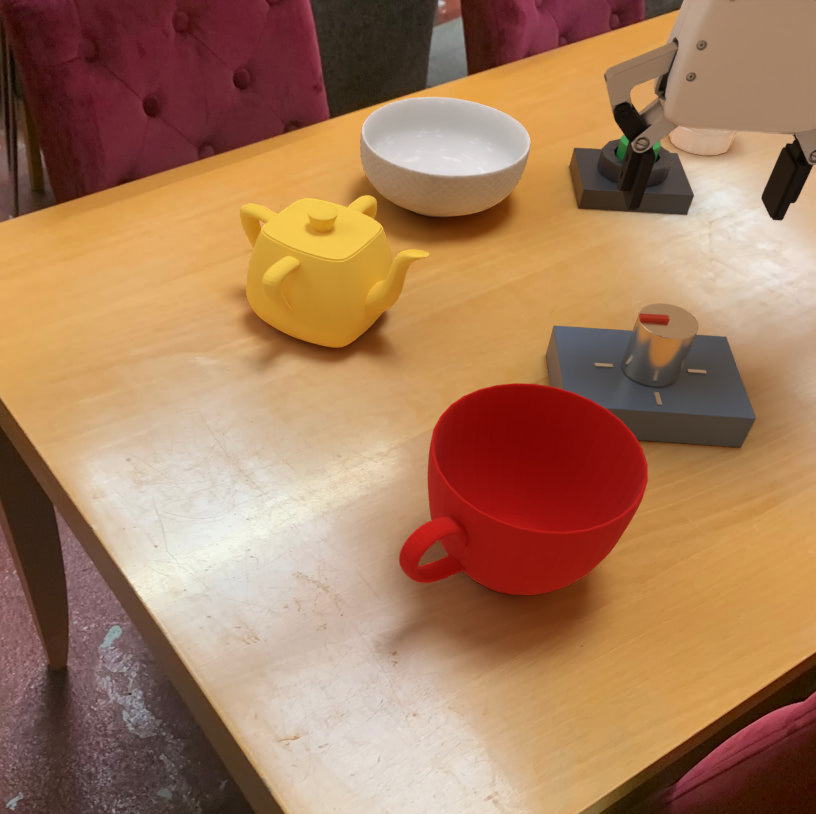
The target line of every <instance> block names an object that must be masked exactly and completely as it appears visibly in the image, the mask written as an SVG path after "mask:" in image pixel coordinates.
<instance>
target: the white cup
mask: <svg viewBox="0 0 816 814" xmlns="http://www.w3.org/2000/svg"><path fill="white" fill-rule="evenodd" d="M737 133H738V132H737V131H723V130H709V129H696V128H687V127H681V126H678V127H677V128H675V129H674V130H673V131H672V132H670V133H669V134H668V136H669V140H670V143H671V144H672V145H673V146H675V147H676V148H677V149H678V150H681V151H684V152H686V153H689V154H693V155H698V156H719V155H722V154H724V153H727V152H728V151H729V149H730V148H731V147H732V145H733V143H734V140H735V137H736V135H737Z"/></svg>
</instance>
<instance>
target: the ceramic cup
mask: <svg viewBox="0 0 816 814" xmlns="http://www.w3.org/2000/svg"><path fill="white" fill-rule="evenodd" d="M433 427H434V428H433V430H432V434H431V438H430V439H431V440H430V443H429V450H428V458H427V459H428V460H427V494H428V504H429V505H428V506H429V515H430V518H431V520H429V521H427V522H424V524H422V525H420V526H419V527H417V528H416V529H415V530H414V531H413V532H412V533H411V534H410V535H409V536H408V538H407V539H406V540H405V542H404V543H403V545H402V547H401V549H400V551H399V555H398V561H399V566H400V568H401V570H402V572H403V573H404V574H405V575H406V576H407V577H408V578H409V579H411V580H412V581H414V582H416V583H419V584H431V583H434V582H439V581H441V580H445V579H447V578H450V577H452V576H455V575H457V574H459V573H461V572H463V573H464V574H465V575H467V576H468V577H469V578H470V579H472V580H473V581H475V582H476V583H478V584H480V585H482V586H483V587H485V588H487V589H489V590H492V591H493V592H497V593H499V594H504V595H505V594H506V595H509V596H510V595H512V596H513V595H515V596H517V595H518V596H535V595H541V594H543V595H544V594H547V593H551V592H554V591H557V590H561V589H565V588H566V587H568V586H570V585H572V584H573V583H576V582H578V581H579V580H581V579H582V578H584V577H586V576H587V575H588V574H590V573H591V572H592V571H593V570H594V569H595V568H597V566H599V565H600V564H601V562H603V561H604V560H605V559H606V558H607V557H608V556H609V554H610V553H611V552H612V551H613V549H614V548H615V547H616V545H617V544H618V543H619V541H620V539H621V537H622V536H623V535H624V533H625V531H626V530H627V528H628V527H629V525H630V524H631V521H632V520H633V518H634V516H635V514H636V513H637V511H638V509H639V507H640V505H641V503H642V501H643V499H644V497H645V496H644V495H645V492H646V488H647V485H648V482H649V472H648V468H649V467H648V466H649V465H648V461H647V458H646V454H645V451H644V449H643V447H642V445H641V444H640V442H639V440H637V439H636V437H635V435H634V434H633V433H632V432H631V431H630V429H629V428H628V427H627V426H626V425H625V424H624V423H623V422H622V421H621V420H620V419H619V418H617V417H616V416H615V415H614V414H613V413H611V412H610V411H609V410H607V409H606V408H604V407H602V406H601V405H599V404H597V403H595V402H594V401H592V400H590V399H588V398H585V397H583V396H580V395H578V394H576V393H573V392H570V391H566V390H563V389H559V388H556V387H551V386H550V385H544V384H537V383H523V382H522V383H519V382H518V383H517V382H514V383H513V382H512V383H503V384H495V385H492V386H487V387H483V388H480V389H476V390H474V391H472V392H470V393H468V394H465V395H463V396H461V397H460V398H459V399H457V400H456V401H454V402H453V403H451V404H450V405H449V406H448V407H447V408H446V409H445V410H444V412H443V413H442V414H441V415H440V416H439V418H438V420H437V421H436V424H435V426H433ZM438 542H440V545H441V546H442V548H443V550H444V551H445V553H446V554H447V555H446V556H444V557H441V558H439V559H437V560H434V561H431V562H428V563H424V564H420V561H421V559H422V557H423V556H424V555H425V553H426V552H427V551H428V550H429V549H430V548H432V546H434V545H435V544H436V543H438ZM419 564H420V565H419Z"/></svg>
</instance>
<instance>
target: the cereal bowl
mask: <svg viewBox="0 0 816 814" xmlns="http://www.w3.org/2000/svg"><path fill="white" fill-rule="evenodd" d="M531 143H532V142H531V137H530V133H529V132H528V130H527V129H526V127H525V126H524V125H523V124H522V123H521V122H520V121H518V120H517V119H516V118H514V116H513V117H512V115H509V114H508V113H506V112H504V111H502V110H499V109H497V108H495V107H493V106H489V105H486V104H483V103H480V102H476V101H472V100H467V99H461V98H454V97H447V96H446V97H444V96H420V97H410V98H405V99H400V100H395V101H392V102H390V103H387V104H385V105H382V106H381V107H378V108H376V109H375V110H374V111H372V112H371V113H370V114H369V115H368V116H367V117H366V118H365V120H364V122H363V123H362V126H361V131H360V139H359V144H360V145H359V151H360V152H359V153H360V160H361V161H360V162H361V165H362V170H363V172H364V173H365V174H364V175H365V176H366V178H367V180H368V182H370V184H371V186H372V187H373V188H374V189H375V190H376V191H377V192H378V193H379V195H381V196H382V197H383V198H384V199H386V200H388V201H389V202H391V203H393V204H395V205H396V206H399V207H400V208H403V209H405V210H408V211H411V212H413V213H414V214H418V215H421V216H424V217H431V218H452V217H457V216H458V217H460V216H468V215H472V214H477V213H480V212H483V211H485V210H488V209H490V208H492V207H495V206H496V205H498V204H500V203H501V202H503V200H505V199H506V198H507V197H508V196H510V195H511V194H512V192H513V191H514V190H515V189H516V187H517V186H518V184H519V183H520V181H521V180H522V177H523V175H524V172H525V170H526V165H527V163H528V160H529V156H530V155H529V154H530V152H531Z"/></svg>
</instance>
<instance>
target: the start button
mask: <svg viewBox="0 0 816 814" xmlns="http://www.w3.org/2000/svg"><path fill="white" fill-rule="evenodd" d="M619 139H620V143H619V146H618V150H617V153H616V156H617V157H618V158H619V159H621V160H622V161H623V159H624V155H625V152H626V149H627V145H628V142H629V141H628V139H627V138H626V136H625V135H624V134H622V136H621V137H620V138H619ZM660 146H662V142H661V140H660V141H659V142H658V143H656V144H655V145H654V146H653V150H654V153H655V162H656V159H657V156H658V153H659V150H660ZM655 162H654V163H655Z"/></svg>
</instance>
